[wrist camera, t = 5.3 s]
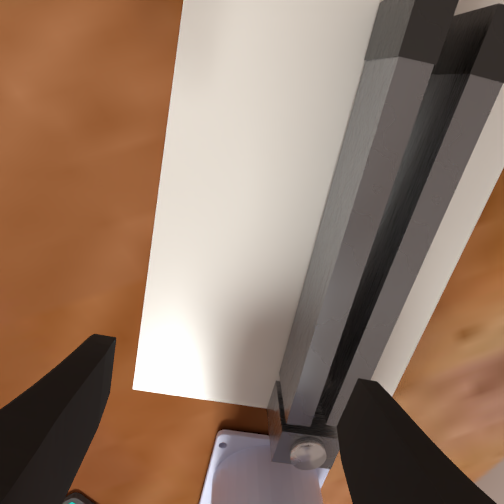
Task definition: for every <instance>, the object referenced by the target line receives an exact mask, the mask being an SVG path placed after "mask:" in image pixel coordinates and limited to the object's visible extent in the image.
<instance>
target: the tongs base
mask: <svg viewBox="0 0 504 504" xmlns="http://www.w3.org/2000/svg"><path fill="white" fill-rule="evenodd" d="M503 83H504V5H503V4H500V3H498V4H494V5H491V6H487V7H484V8H480V9H476V10H473V11H469V12H466V13H462V14H459V15H455V16H453V19H452V22H451V25H450V27H449V30H448V33H447V36H446V39H445V42H444V45H443V48H442V51H441V54H440V56H439V59H438V62H437V65H434V67H433V70H432V73H431V76H430V79H429V82H428V85H427V88H426V91H425V93H424V96H423V99H422V102H421V105H420V108H419V111H418V114H417V117H416V120H415V123H414V126H413V128H412V131H411V134H410V137H409V140H408V143H407V146H406V149H405V152H404V155H403V158H402V161H401V163H400V166H399V169H398V172H397V175H396V178H395V181H394V184H393V187H392V190H391V193H390V196H389V198H388V201H387V204H386V207H385V210H384V213H383V216H382V219H381V222H380V225H379V228H378V231H377V233H376V236H375V239H374V242H373V245H372V248H371V251H370V254H369V257H368V260H367V263H366V266H365V268H364V271H363V274H362V277H361V280H360V283H359V286H358V289H357V292H356V295H355V298H354V301H353V303H352V306H351V309H350V312H349V315H348V318H347V321H346V324H345V327H344V330H343V333H342V336H341V338H340V341H339V344H338V347H337V350H336V353H335V356H334V359H333V362H332V365H331V368H330V371H329V373H328V376H327V379H326V382H325V385H324V388H323V391H322V394H321V397H320V400H319V403H318V406H317V408H316V411H315V414H314V417H313V420H312V423H311V426H302V425H293V424H286V419H285V412H284V405H283V397H282V390H281V383H280V381H276V382H275V385H274V388H273V391H272V394H271V397H270V400H269V403H268V406H267V417H268V428H269V440H270V451H271V462H278V463H286V464H292V465H293V466H294V467H296V468H298V469H301V470H313V469H316V468H325V469H331V467H332V465H333V463H334V461H335V458H336V456H337V454H338V452H339V449H340V448H339V441H338V434H337V425H338V422H339V420H340V418H341V416H342V413H343V411H344V409H345V407H346V404H347V402H348V400H349V398H350V395H351V393H352V391H353V389H354V386H355V384H356V382H357V380H358V378H360V379H366V380H371V378H372V376H373V373H374V371H375V369H376V367H377V364H378V362H379V360H380V358H381V356H382V353H383V351H384V349H385V347H386V344H387V342H388V340H389V338H390V335H391V333H392V331H393V329H394V326H395V324H396V322H397V320H398V318H399V315H400V313H401V311H402V309H403V306H404V304H405V302H406V300H407V297H408V295H409V293H410V291H411V288H412V286H413V284H414V282H415V280H416V277H417V275H418V273H419V271H420V268H421V266H422V264H423V262H424V259H425V257H426V255H427V253H428V250H429V248H430V246H431V244H432V242H433V239H434V237H435V235H436V233H437V230H438V228H439V226H440V224H441V221H442V219H443V217H444V215H445V212H446V210H447V208H448V206H449V204H450V201H451V199H452V197H453V195H454V192H455V190H456V188H457V186H458V183H459V181H460V179H461V177H462V174H463V172H464V170H465V168H466V166H467V163H468V161H469V159H470V157H471V154H472V152H473V150H474V148H475V145H476V143H477V141H478V139H479V136H480V134H481V132H482V130H483V128H484V125H485V123H486V121H487V119H488V116H489V114H490V112H491V110H492V107H493V105H494V103H495V101H496V98H497V96H498V94H499V92H500V90H501V87H502V85H503Z"/></svg>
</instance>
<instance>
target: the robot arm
mask: <svg viewBox="0 0 504 504" xmlns="http://www.w3.org/2000/svg"><path fill="white" fill-rule="evenodd" d="M115 345H116V337H110V336H104V335H98V334H93V335H91V336H90V337H89V338H88V339H86V340H85V341H84V342H83V343H82V344H81V345H80V346H79V347H78V348H77V349H76V350H75V351H73V352H72V353H71V354H70V355H69V356H68V357H67V358H65V359H64V360H63V361H62V362H61V363H60V364H59V365H57V366H56V367H55V368H54V369H52V370H51V371H50V372H49V373H48V374H46V375H45V376H44V377H43V378H41V379H40V380H39V381H38V382H37V383H35V384H34V385H33V386H31V387H30V388H29V389H27V390H26V391H25V392H23V393H22V394H21V395H19V396H18V397H17V398H15V399H14V400H13V401H11V402H10V403H8V404H7V405H6V406H4V407H3V408H2V409H0V504H62V503H63V501H64V499H65V497H66V495H67V493H68V490H69V488H70V486H71V484H72V482H73V480H74V478H75V476H76V473H77V471H78V469H79V467H80V465H81V463H82V461H83V459H84V456H85V454H86V452H87V450H88V448H89V446H90V444H91V441H92V439H93V437H94V435H95V433H96V431H97V428H98V426H99V423H100V420H101V417H102V414H103V412H104V409H105V406H106V403H107V400H108V397H109V394H110V387H111V379H112V370H113V362H114V353H115ZM337 434H338V441H339V448H340V455H341V461H342V465H343V469H344V473H345V476H346V480H347V484H348V488H349V491H350V495H351V499H352V502H353V504H496V503H495V502H494V501H493V500H492V499H491V498H490V497H489V496H487V495H486V494H485V493H484V492H483V491H482V490H481V489H480V488H479V487H477V486H476V485H475V484H474V483H473V482H472V481H471V480H470V479H469V478H468V477H467V476H466V475H465V474H464V473H463V472H462V471H461V470H460V469H459V468H458V467H457V466H456V465H455V464H454V463H453V462H452V461H451V460H450V459H449V458H448V457H447V456H446V455H445V454H444V453H443V452H442V451H441V450H440V449H439V448H438V447H437V446H436V445H435V444H434V443H433V442H432V441H431V439H430V438H429V437H428V436H427V435H426V434H425V433H424V432H423V431H422V430H421V429H420V428H419V426H418V425H417V424H416V423H415V422H414V421H413V420H412V419H411V418H410V416H409V415H408V414H407V413H406V412H405V411H404V410H403V409H402V408H401V406H400V405H399V404H398V403H397V402H396V401H395V400H394V399H393V398H392V396H391V395H390V394H389V393H388V392H387V391H386V390H385V389H384V388H383V387H382V386H381V385H380V384H379V383H378V382H377V381H372V380H366V379H360V378H358V380H357V382H356V384H355V386H354V389H353V391H352V393H351V395H350V398H349V400H348V402H347V404H346V407H345V409H344V411H343V413H342V416H341V418H340V420H339V422H338V425H337ZM222 442H224V443H222ZM328 472H329V469H325V468H316V469H313V470H301V469H298V468H296V467H294V466H293V465H292V464H286V463H278V462H271V451H270V440H269V435H262V434H255V433H247V432H240V431H232V430H220V431H219V432H218V433H217V436H216V440H215V443H214V447H213V451H212V455H211V459H210V463H209V466H208V470H207V474H206V478H205V482H204V486H203V489H202V493H201V497H200V501H199V504H323V500H322V495H321V487H322V485H323V483H324V481H325V478H326V476H327V474H328Z"/></svg>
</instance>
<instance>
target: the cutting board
mask: <svg viewBox="0 0 504 504" xmlns="http://www.w3.org/2000/svg"><path fill="white" fill-rule="evenodd" d="M381 1H383V0H183V8H182V16H181V23H180V31H179V39H178V46H177V54H176V61H175V69H174V77H173V84H172V92H171V100H170V107H169V115H168V123H167V130H166V138H165V145H164V153H163V161H162V168H161V176H160V184H159V191H158V199H157V207H156V214H155V222H154V230H153V237H152V245H151V252H150V260H149V268H148V275H147V283H146V291H145V298H144V306H143V314H142V321H141V329H140V336H139V344H138V352H137V359H136V367H135V375H134V382H133V389H134V390H141V391H148V392H155V393H162V394H169V395H176V396H183V397H190V398H197V399H204V400H210V401H217V402H224V403H231V404H238V405H245V406H252V407H259V408H266V409H267V406H268V403H269V400H270V397H271V394H272V391H273V388H274V385H275V382H276V381H280V376H279V371H280V368H281V364H282V361H283V357H284V353H285V350H286V346H287V343H288V339H289V335H290V332H291V328H292V325H293V321H294V317H295V314H296V310H297V306H298V303H299V299H300V296H301V292H302V288H303V285H304V281H305V278H306V274H307V270H308V267H309V263H310V259H311V256H312V252H313V249H314V245H315V241H316V238H317V234H318V231H319V227H320V223H321V220H322V216H323V213H324V209H325V205H326V202H327V198H328V194H329V191H330V187H331V184H332V180H333V176H334V173H335V169H336V166H337V162H338V158H339V155H340V151H341V148H342V144H343V140H344V137H345V133H346V129H347V126H348V122H349V119H350V115H351V111H352V108H353V104H354V101H355V97H356V93H357V90H358V86H359V83H360V79H361V75H362V72H363V68H364V64H365V60H364V59H365V55H366V51H367V48H368V44H369V40H370V37H371V33H372V30H373V26H374V22H375V19H376V15H377V11H378V8H379V4H380V2H381ZM498 3H500V4H503V5H504V0H459V1H458V4H457V7H456V10H455V13H454V16H455V15H459V14H462V13H466V12H469V11H473V10H476V9H480V8H484V7H487V6H491V5H494V4H498ZM503 168H504V83H503V85H502V87H501V90H500V92H499V94H498V96H497V98H496V101H495V103H494V105H493V107H492V110H491V112H490V114H489V116H488V119H487V121H486V123H485V125H484V128H483V130H482V132H481V134H480V136H479V139H478V141H477V143H476V145H475V148H474V150H473V152H472V154H471V157H470V159H469V161H468V163H467V166H466V168H465V170H464V172H463V174H462V177H461V179H460V181H459V183H458V186H457V188H456V190H455V192H454V195H453V197H452V199H451V201H450V204H449V206H448V208H447V210H446V212H445V215H444V217H443V219H442V221H441V224H440V226H439V228H438V230H437V233H436V235H435V237H434V239H433V242H432V244H431V246H430V248H429V250H428V253H427V255H426V257H425V259H424V262H423V264H422V266H421V268H420V271H419V273H418V275H417V277H416V280H415V282H414V284H413V286H412V288H411V291H410V293H409V295H408V297H407V300H406V302H405V304H404V306H403V309H402V311H401V313H400V315H399V318H398V320H397V322H396V324H395V326H394V329H393V331H392V333H391V335H390V338H389V340H388V342H387V344H386V347H385V349H384V351H383V353H382V356H381V358H380V360H379V362H378V364H377V367H376V369H375V371H374V373H373V376H372V378H371V380H372V381H377V382H378V383H379V384H380V385H381V386H382V387H383V388H384V389H385V390H386V391H387V392H388V393H389V394H390V395H391V396H393V394H394V392H395V390H396V387H397V385H398V383H399V381H400V379H401V377H402V375H403V373H404V371H405V369H406V367H407V365H408V363H409V361H410V359H411V357H412V355H413V353H414V350H415V348H416V346H417V344H418V342H419V340H420V338H421V336H422V334H423V332H424V330H425V328H426V326H427V324H428V322H429V320H430V318H431V316H432V314H433V311H434V309H435V307H436V305H437V303H438V301H439V299H440V297H441V295H442V293H443V291H444V289H445V287H446V285H447V283H448V281H449V279H450V277H451V275H452V272H453V270H454V268H455V266H456V264H457V262H458V260H459V258H460V256H461V254H462V252H463V250H464V248H465V246H466V244H467V242H468V240H469V238H470V235H471V233H472V231H473V229H474V227H475V225H476V223H477V221H478V219H479V217H480V215H481V213H482V211H483V209H484V207H485V205H486V203H487V201H488V199H489V196H490V194H491V192H492V190H493V188H494V186H495V184H496V182H497V180H498V178H499V176H500V174H501V172H502V170H503Z"/></svg>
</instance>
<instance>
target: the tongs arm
mask: <svg viewBox="0 0 504 504" xmlns="http://www.w3.org/2000/svg"><path fill="white" fill-rule="evenodd" d="M458 1H459V0H383V1H381V2H380V4H379V8H378V11H377V15H376V19H375V22H374V26H373V30H372V33H371V37H370V40H369V44H368V48H367V51H366V55H365V59H364V60H365V64H364V68H363V72H362V75H361V79H360V83H359V86H358V90H357V93H356V97H355V101H354V104H353V108H352V111H351V115H350V119H349V122H348V126H347V129H346V133H345V137H344V140H343V144H342V148H341V151H340V155H339V158H338V162H337V166H336V169H335V173H334V176H333V180H332V184H331V187H330V191H329V194H328V198H327V202H326V205H325V209H324V213H323V216H322V220H321V223H320V227H319V231H318V234H317V238H316V241H315V245H314V249H313V252H312V256H311V259H310V263H309V267H308V270H307V274H306V278H305V281H304V285H303V288H302V292H301V296H300V299H299V303H298V306H297V310H296V314H295V317H294V321H293V325H292V328H291V332H290V335H289V339H288V343H287V346H286V350H285V353H284V357H283V361H282V364H281V368H280V371H279V376H280V383H281V390H282V397H283V405H284V412H285V419H286V424H293V425H302V426H311V423H312V420H313V417H314V414H315V411H316V408H317V406H318V403H319V400H320V397H321V394H322V391H323V388H324V385H325V382H326V379H327V376H328V373H329V371H330V368H331V365H332V362H333V359H334V356H335V353H336V350H337V347H338V344H339V341H340V338H341V336H342V333H343V330H344V327H345V324H346V321H347V318H348V315H349V312H350V309H351V306H352V303H353V301H354V298H355V295H356V292H357V289H358V286H359V283H360V280H361V277H362V274H363V271H364V268H365V266H366V263H367V260H368V257H369V254H370V251H371V248H372V245H373V242H374V239H375V236H376V233H377V231H378V228H379V225H380V222H381V219H382V216H383V213H384V210H385V207H386V204H387V201H388V198H389V196H390V193H391V190H392V187H393V184H394V181H395V178H396V175H397V172H398V169H399V166H400V163H401V161H402V158H403V155H404V152H405V149H406V146H407V143H408V140H409V137H410V134H411V131H412V128H413V126H414V123H415V120H416V117H417V114H418V111H419V108H420V105H421V102H422V99H423V96H424V93H425V91H426V88H427V85H428V82H429V79H430V76H431V73H432V70H433V67H434V65H437V62H438V59H439V56H440V54H441V51H442V48H443V45H444V42H445V39H446V36H447V33H448V30H449V27H450V25H451V22H452V19H453V16H454V13H455V10H456V7H457V4H458Z"/></svg>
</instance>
